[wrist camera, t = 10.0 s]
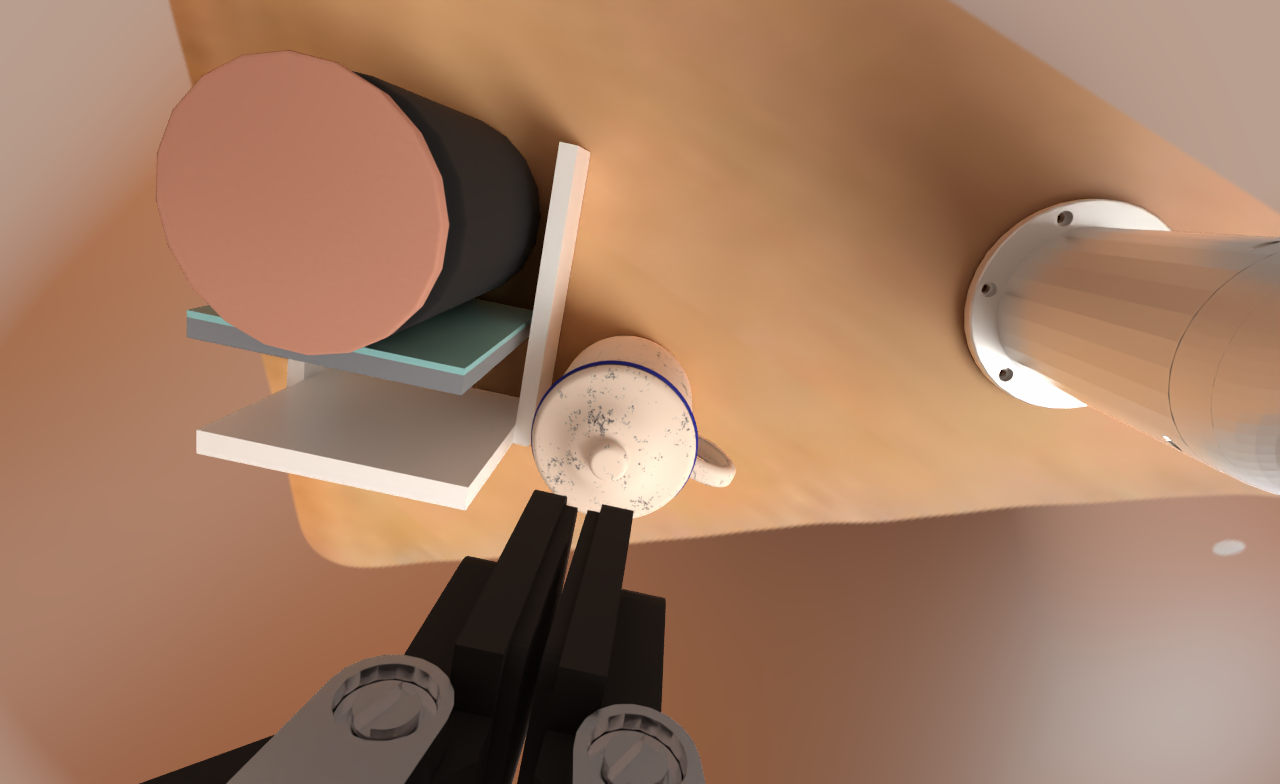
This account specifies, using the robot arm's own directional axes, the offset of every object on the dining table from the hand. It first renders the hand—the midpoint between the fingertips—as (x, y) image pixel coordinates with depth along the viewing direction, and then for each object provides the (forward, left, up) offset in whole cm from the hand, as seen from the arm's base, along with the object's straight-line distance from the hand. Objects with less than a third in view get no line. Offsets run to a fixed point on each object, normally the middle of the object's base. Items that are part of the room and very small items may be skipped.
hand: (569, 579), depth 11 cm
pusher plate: (+13, +2, -32) cm, 35 cm away
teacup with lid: (-1, +7, -32) cm, 33 cm away
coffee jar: (+13, -3, -32) cm, 35 cm away
